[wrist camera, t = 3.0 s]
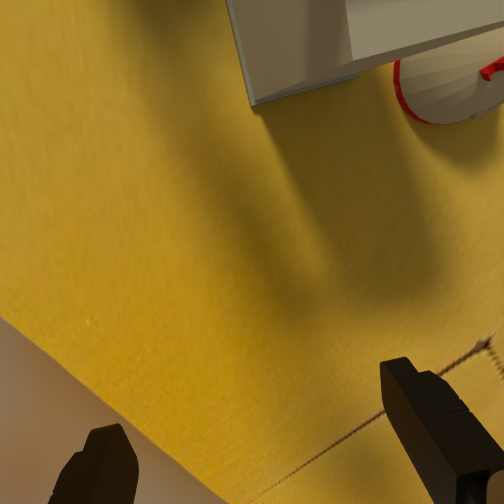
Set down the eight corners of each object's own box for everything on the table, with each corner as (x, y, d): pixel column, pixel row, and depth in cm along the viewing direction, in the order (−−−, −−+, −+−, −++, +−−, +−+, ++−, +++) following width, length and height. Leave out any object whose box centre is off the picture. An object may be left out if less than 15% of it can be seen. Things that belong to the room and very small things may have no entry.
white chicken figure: (507, 80, 49) (628, 64, 35) (422, 145, 51) (505, 154, 37) (466, -19, 44) (586, -84, 30) (374, 55, 46) (448, 27, 32)
